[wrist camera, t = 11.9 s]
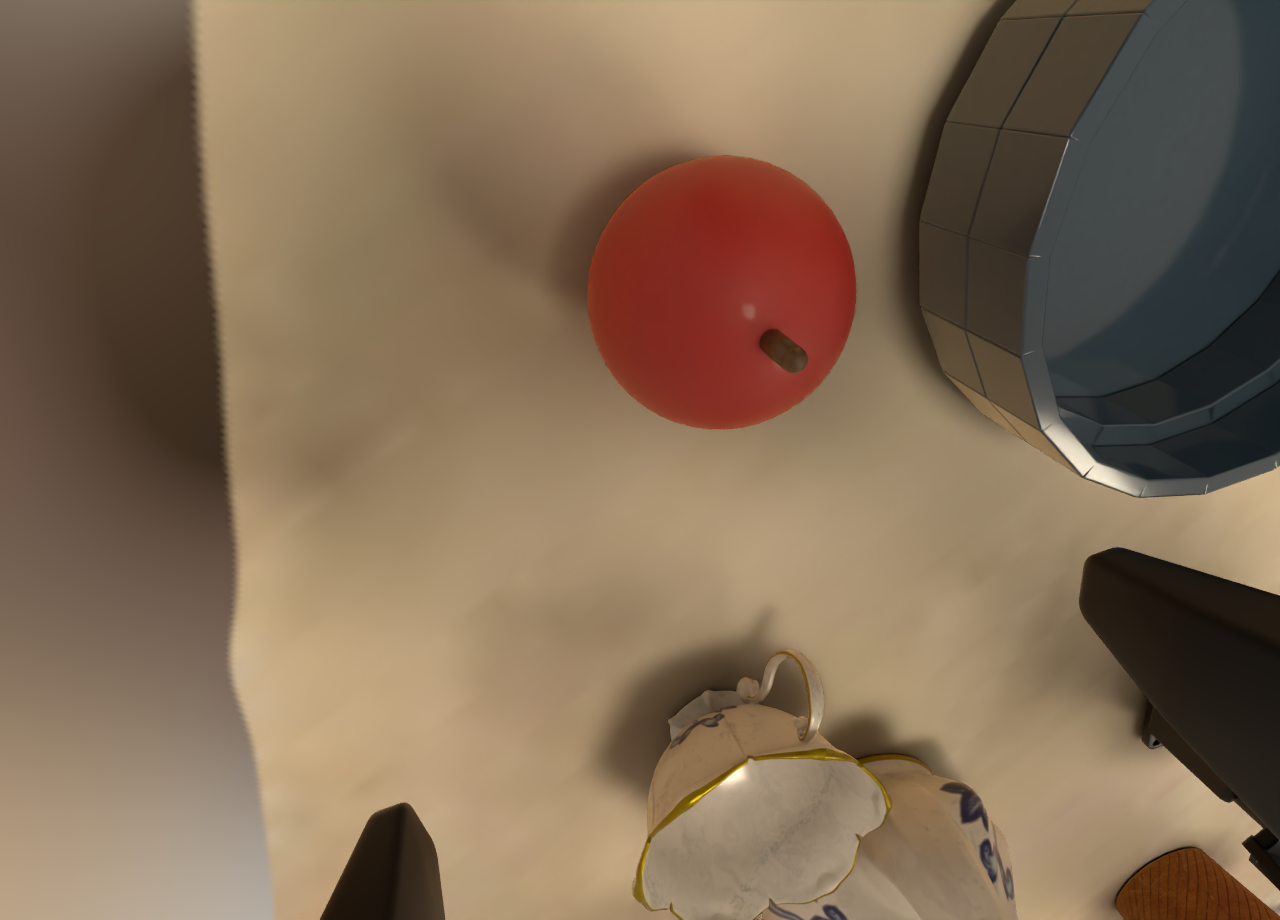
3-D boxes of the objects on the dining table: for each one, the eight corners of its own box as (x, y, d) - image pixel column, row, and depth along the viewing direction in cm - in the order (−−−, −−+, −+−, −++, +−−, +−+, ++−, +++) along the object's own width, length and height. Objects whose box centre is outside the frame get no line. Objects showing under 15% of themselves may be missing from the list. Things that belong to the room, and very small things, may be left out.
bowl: (1443, -197, 19) (1742, -271, 14) (1290, 349, 27) (1455, 406, 22) (896, -66, 17) (1053, -104, 13) (906, 477, 25) (1005, 565, 21)
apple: (774, 114, 18) (953, 145, 12) (796, 338, 21) (948, 454, 15) (538, 177, 17) (601, 244, 11) (597, 398, 21) (671, 546, 14)
